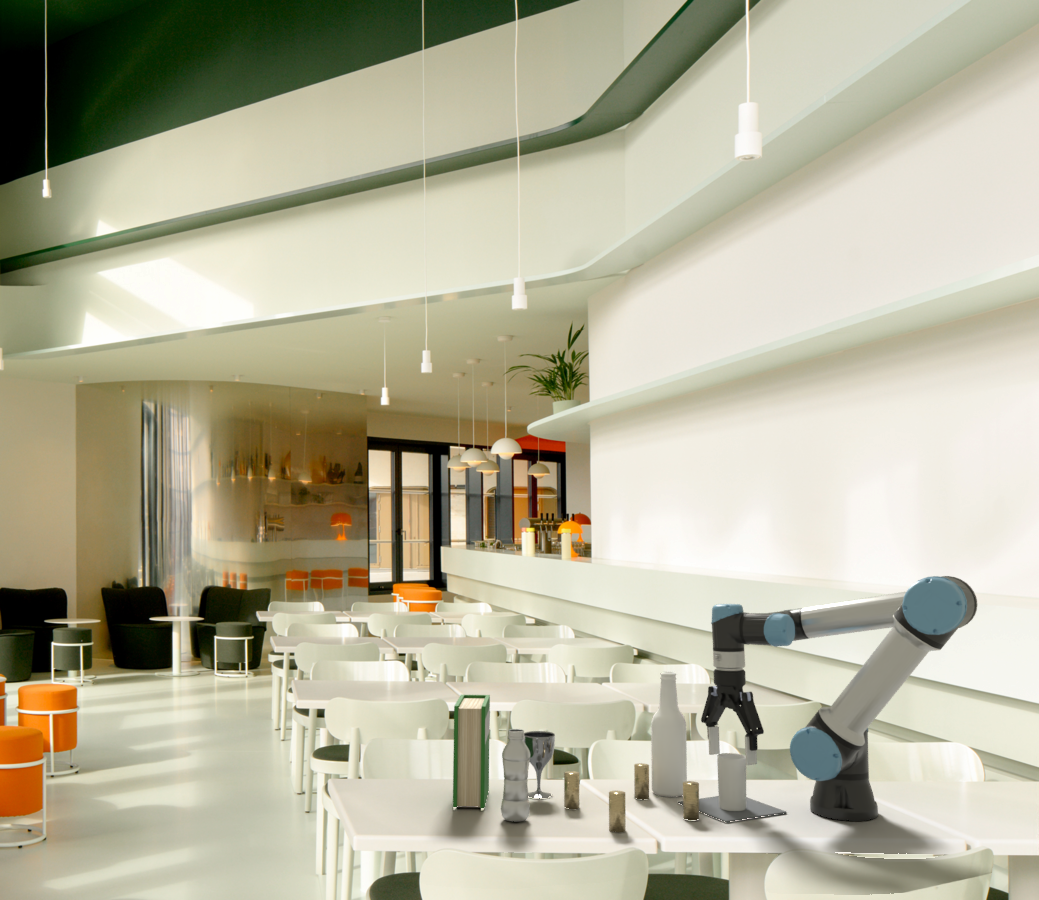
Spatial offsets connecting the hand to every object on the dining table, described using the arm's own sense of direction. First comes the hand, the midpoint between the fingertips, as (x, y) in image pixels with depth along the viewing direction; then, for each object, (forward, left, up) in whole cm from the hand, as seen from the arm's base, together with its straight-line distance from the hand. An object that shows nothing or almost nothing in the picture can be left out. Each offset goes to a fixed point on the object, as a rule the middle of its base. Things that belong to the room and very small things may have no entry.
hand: (732, 759), depth 227 cm
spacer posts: (+7, +24, -12) cm, 28 cm away
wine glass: (+30, +36, -12) cm, 49 cm away
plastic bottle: (+13, +51, -12) cm, 54 cm away
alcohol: (+18, +5, -12) cm, 22 cm away
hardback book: (+33, +53, -12) cm, 64 cm away
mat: (0, 0, -12) cm, 12 cm away
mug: (0, 0, -11) cm, 11 cm away
